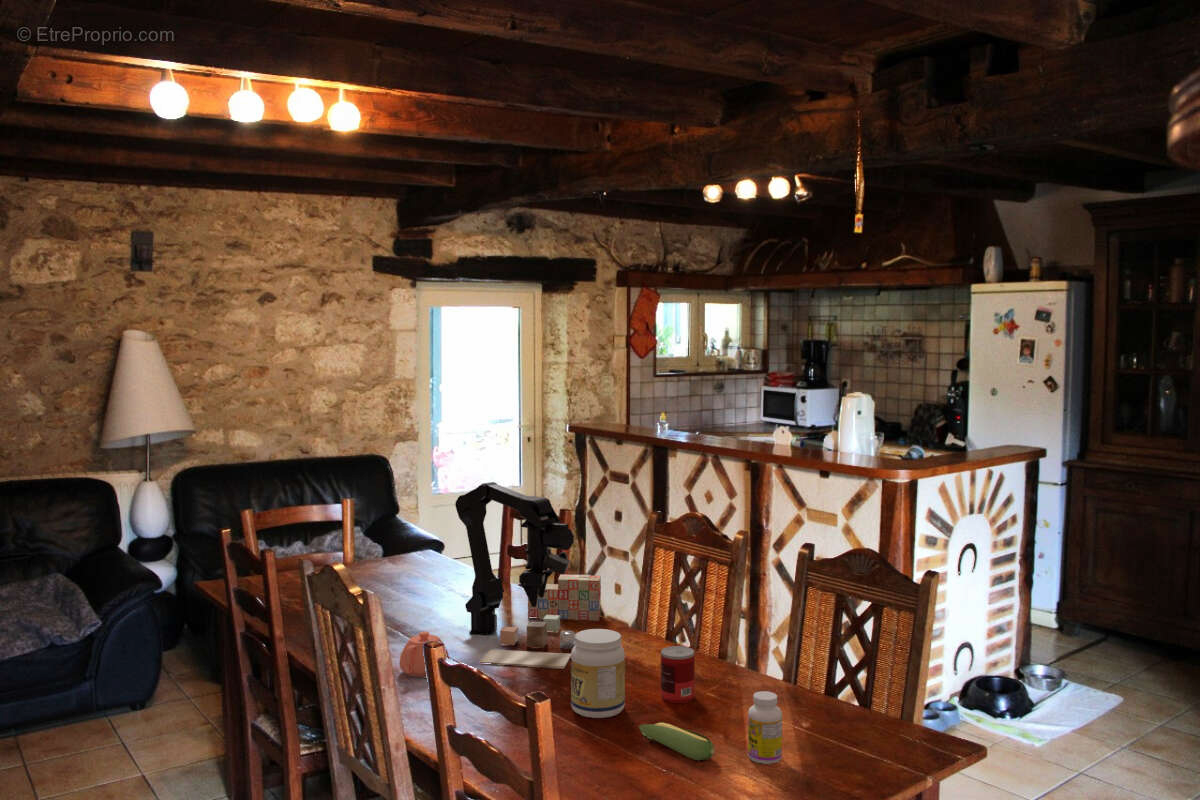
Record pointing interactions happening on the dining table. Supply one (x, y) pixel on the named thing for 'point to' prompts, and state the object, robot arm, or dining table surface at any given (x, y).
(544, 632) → the walnut block
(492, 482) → the robot arm
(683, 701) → the canned food
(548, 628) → the sage green block
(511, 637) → the terracotta cube
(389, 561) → the dining table surface
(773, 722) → the supplement bottle
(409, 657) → the terracotta lidded pot
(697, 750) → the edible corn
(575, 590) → the stack of blocks
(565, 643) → the metal tin
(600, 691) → the supplement tub
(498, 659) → the oak board
